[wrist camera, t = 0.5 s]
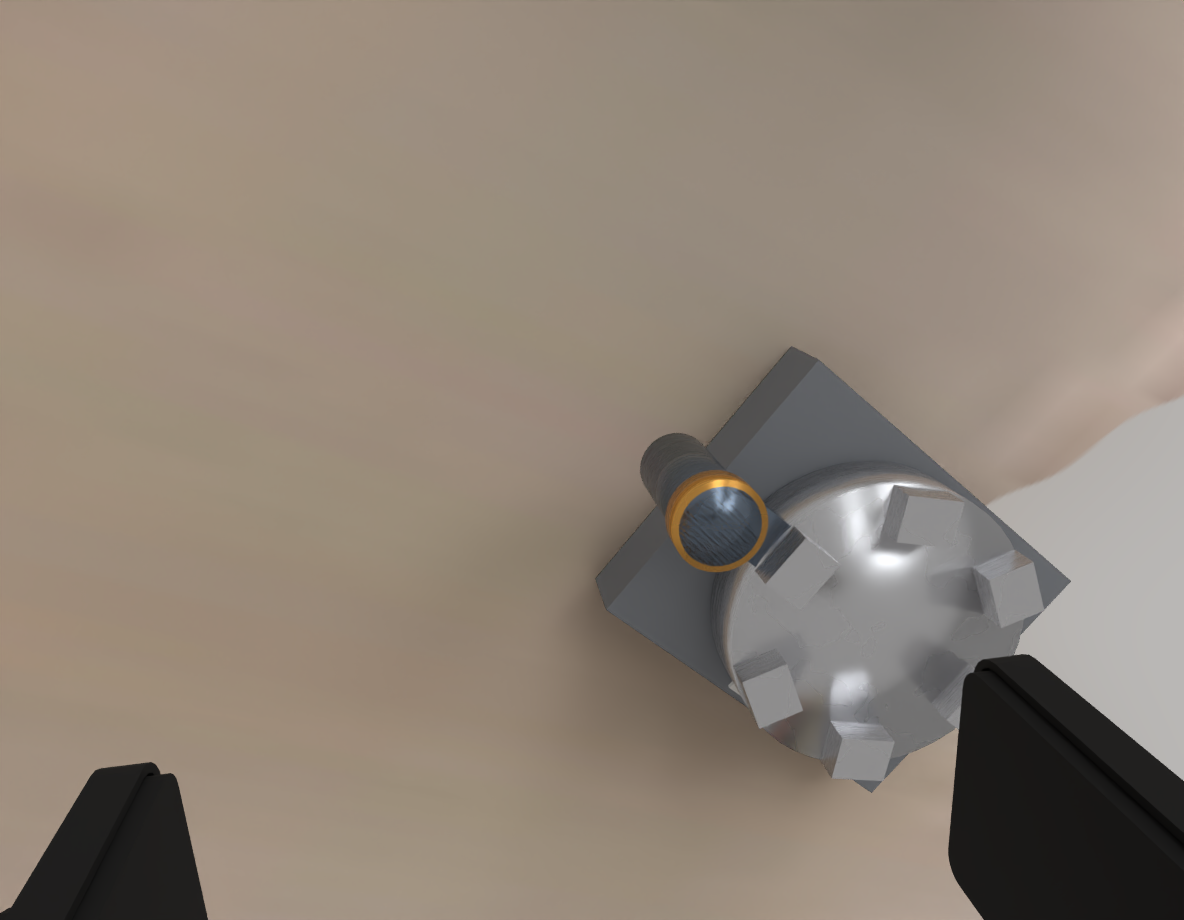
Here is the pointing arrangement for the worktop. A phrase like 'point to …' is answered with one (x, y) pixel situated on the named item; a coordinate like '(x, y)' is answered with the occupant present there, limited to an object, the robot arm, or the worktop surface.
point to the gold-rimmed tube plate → (845, 598)
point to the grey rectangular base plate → (767, 463)
